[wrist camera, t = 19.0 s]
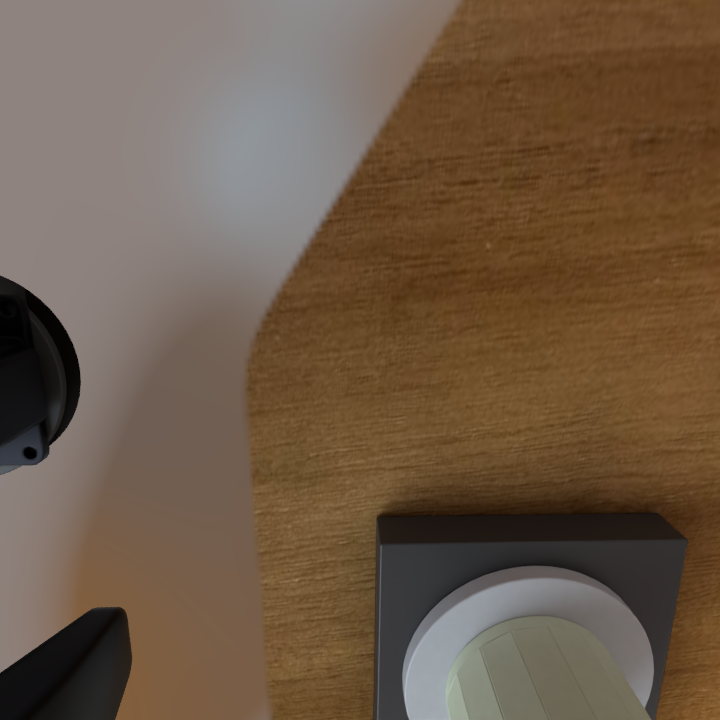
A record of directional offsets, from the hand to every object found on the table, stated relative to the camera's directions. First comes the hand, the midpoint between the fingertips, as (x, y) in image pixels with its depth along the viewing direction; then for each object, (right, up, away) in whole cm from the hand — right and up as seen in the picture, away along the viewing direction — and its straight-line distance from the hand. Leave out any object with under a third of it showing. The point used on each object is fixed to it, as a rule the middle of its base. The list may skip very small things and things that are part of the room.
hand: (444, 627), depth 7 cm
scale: (+5, -8, +16) cm, 19 cm away
